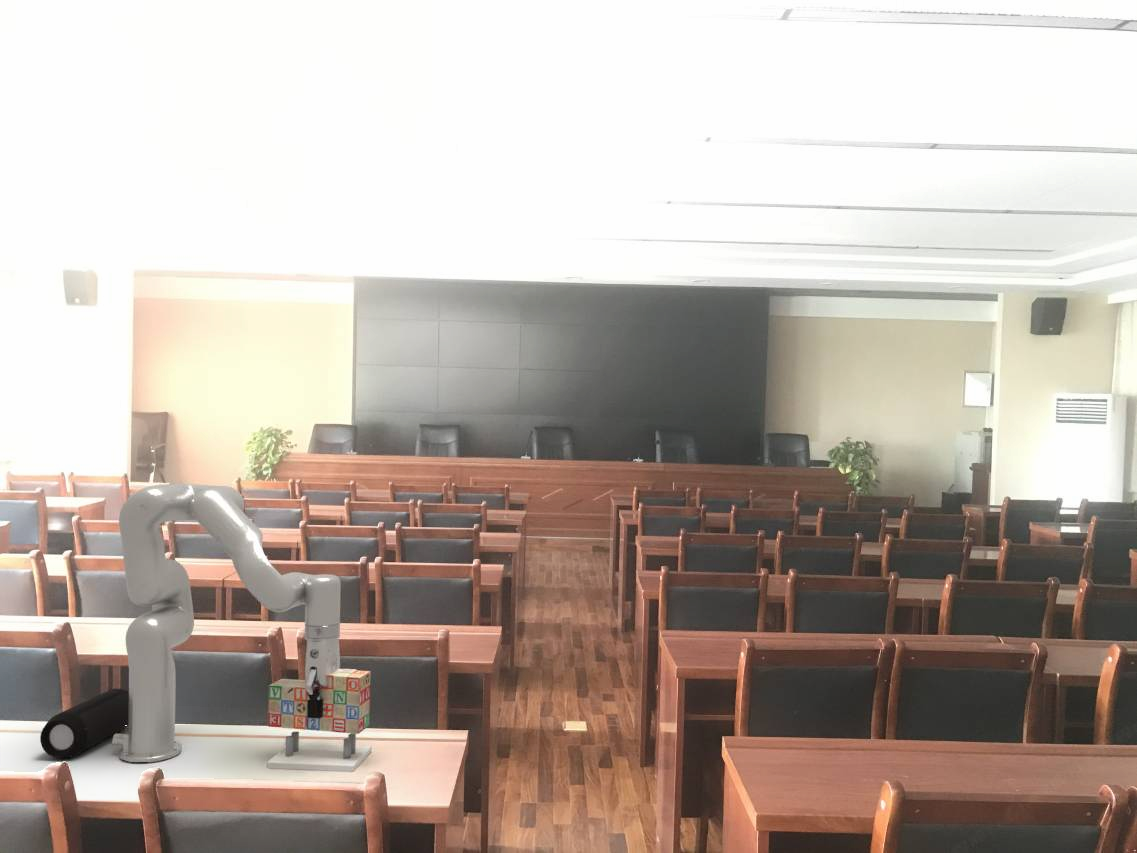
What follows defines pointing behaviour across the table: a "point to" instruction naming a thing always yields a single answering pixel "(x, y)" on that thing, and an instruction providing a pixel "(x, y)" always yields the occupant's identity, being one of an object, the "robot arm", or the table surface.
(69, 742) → the portable speaker
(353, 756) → the peg board
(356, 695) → the stack of blocks
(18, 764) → the table surface
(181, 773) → the table surface
